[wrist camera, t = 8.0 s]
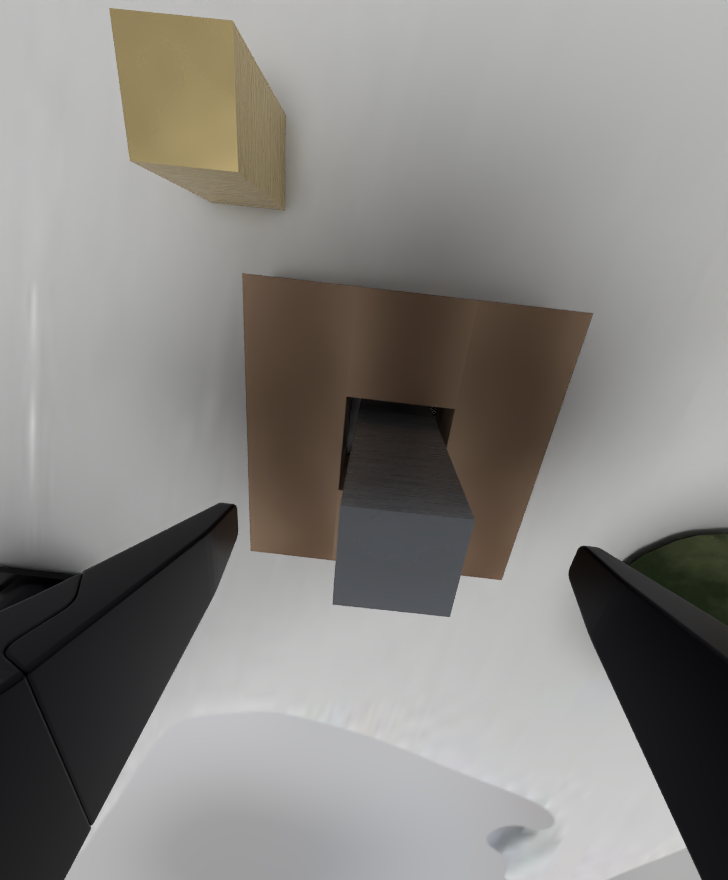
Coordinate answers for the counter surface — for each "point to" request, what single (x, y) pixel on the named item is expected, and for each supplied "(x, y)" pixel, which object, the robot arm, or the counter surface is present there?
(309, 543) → the socket block
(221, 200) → the short pin
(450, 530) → the long pin
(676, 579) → the dark green bottle
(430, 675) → the counter surface
